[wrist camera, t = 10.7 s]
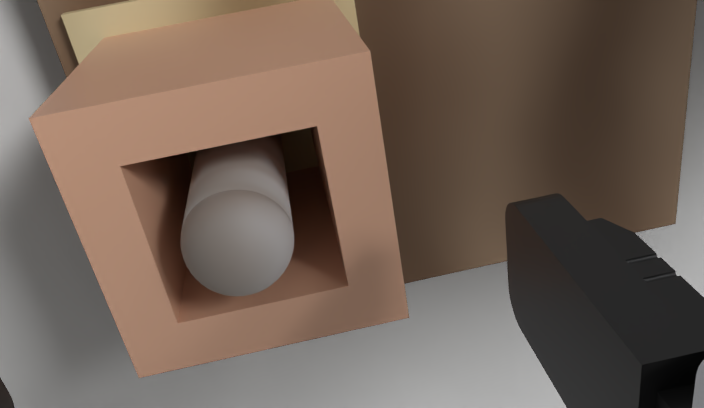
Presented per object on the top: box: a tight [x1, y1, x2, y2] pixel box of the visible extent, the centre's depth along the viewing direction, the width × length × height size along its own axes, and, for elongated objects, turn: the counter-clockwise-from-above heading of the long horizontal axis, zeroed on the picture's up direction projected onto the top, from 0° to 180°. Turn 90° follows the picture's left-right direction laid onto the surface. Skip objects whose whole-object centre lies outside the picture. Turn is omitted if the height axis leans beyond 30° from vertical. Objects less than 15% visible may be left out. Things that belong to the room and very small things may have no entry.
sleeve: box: [29, 0, 409, 378], centre depth 14 cm, size 6×6×6 cm
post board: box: [37, 0, 697, 296], centre depth 15 cm, size 17×13×9 cm
